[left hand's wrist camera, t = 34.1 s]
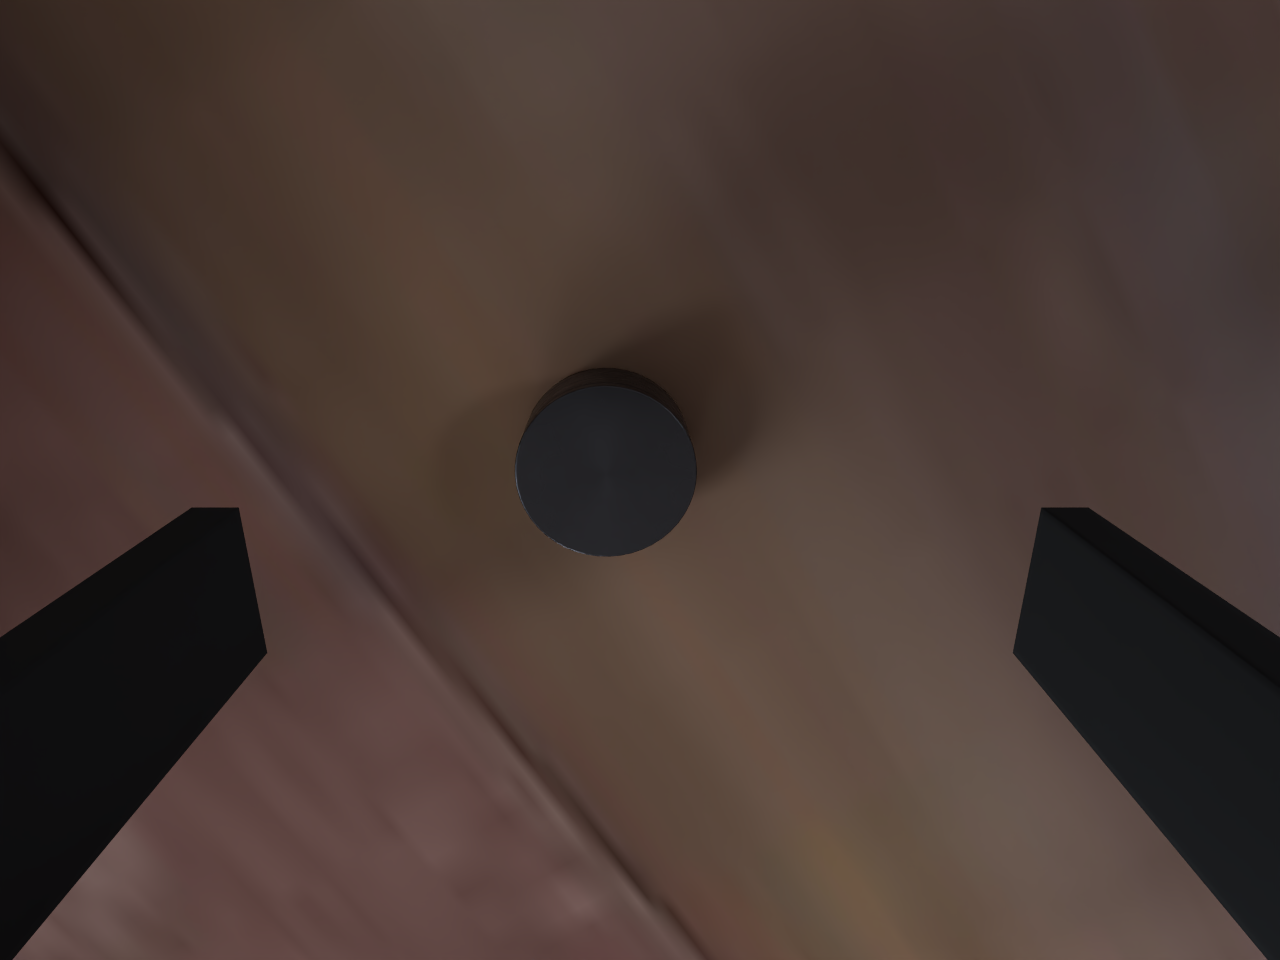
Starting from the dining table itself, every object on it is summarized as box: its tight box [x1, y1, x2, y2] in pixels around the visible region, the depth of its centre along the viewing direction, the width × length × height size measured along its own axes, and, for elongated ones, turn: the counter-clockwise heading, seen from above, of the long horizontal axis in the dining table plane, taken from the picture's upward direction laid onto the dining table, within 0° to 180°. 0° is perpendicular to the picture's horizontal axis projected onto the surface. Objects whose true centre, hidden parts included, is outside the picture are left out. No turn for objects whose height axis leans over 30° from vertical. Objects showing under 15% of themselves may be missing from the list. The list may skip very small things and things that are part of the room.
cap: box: [515, 368, 697, 556], centre depth 18 cm, size 4×4×2 cm
